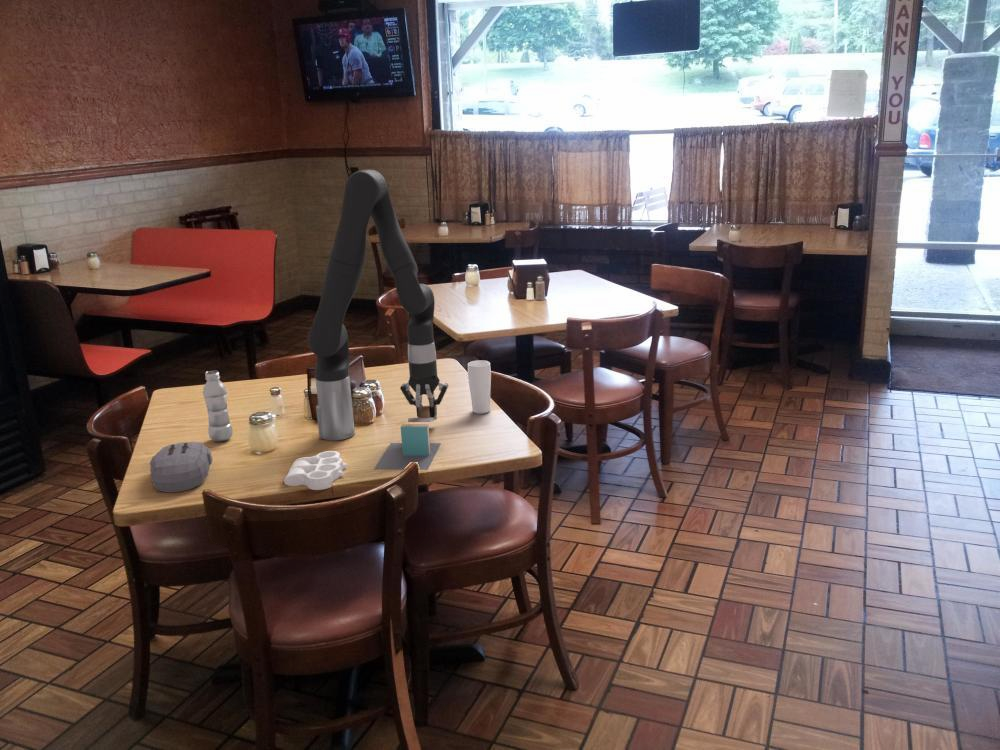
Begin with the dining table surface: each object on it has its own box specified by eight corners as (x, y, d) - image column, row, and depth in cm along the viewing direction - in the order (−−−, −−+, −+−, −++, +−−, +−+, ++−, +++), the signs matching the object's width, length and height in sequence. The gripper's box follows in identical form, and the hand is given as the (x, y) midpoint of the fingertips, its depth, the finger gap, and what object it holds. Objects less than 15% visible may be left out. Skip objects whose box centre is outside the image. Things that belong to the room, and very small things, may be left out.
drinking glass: (490, 415, 260) (487, 366, 256) (467, 415, 262) (464, 366, 257) (494, 408, 267) (492, 360, 262) (473, 407, 268) (470, 359, 264)
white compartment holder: (297, 464, 232) (353, 461, 232) (282, 493, 215) (342, 490, 215) (296, 452, 231) (351, 449, 231) (280, 480, 214) (340, 477, 214)
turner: (408, 422, 236) (408, 407, 236) (421, 419, 253) (421, 405, 253) (430, 422, 235) (430, 407, 235) (442, 419, 252) (442, 405, 252)
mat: (373, 470, 224) (373, 468, 224) (391, 444, 241) (390, 442, 241) (427, 471, 223) (427, 469, 222) (441, 444, 240) (441, 443, 239)
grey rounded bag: (156, 468, 233) (145, 499, 214) (151, 439, 231) (140, 467, 212) (216, 461, 236) (210, 490, 218) (211, 431, 234) (205, 459, 215)
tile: (402, 455, 232) (400, 426, 230) (404, 452, 234) (402, 424, 232) (429, 455, 231) (426, 426, 229) (430, 452, 233) (428, 424, 231)
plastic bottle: (223, 434, 255) (213, 367, 250) (238, 438, 252) (229, 371, 246) (204, 441, 250) (194, 373, 245) (220, 445, 247) (209, 377, 241)
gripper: (393, 362, 237) (399, 423, 242) (444, 362, 235) (449, 423, 240) (400, 355, 244) (405, 414, 249) (449, 354, 242) (453, 414, 247)
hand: (426, 418), depth 245 cm, fingers closed on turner, 2 cm apart
